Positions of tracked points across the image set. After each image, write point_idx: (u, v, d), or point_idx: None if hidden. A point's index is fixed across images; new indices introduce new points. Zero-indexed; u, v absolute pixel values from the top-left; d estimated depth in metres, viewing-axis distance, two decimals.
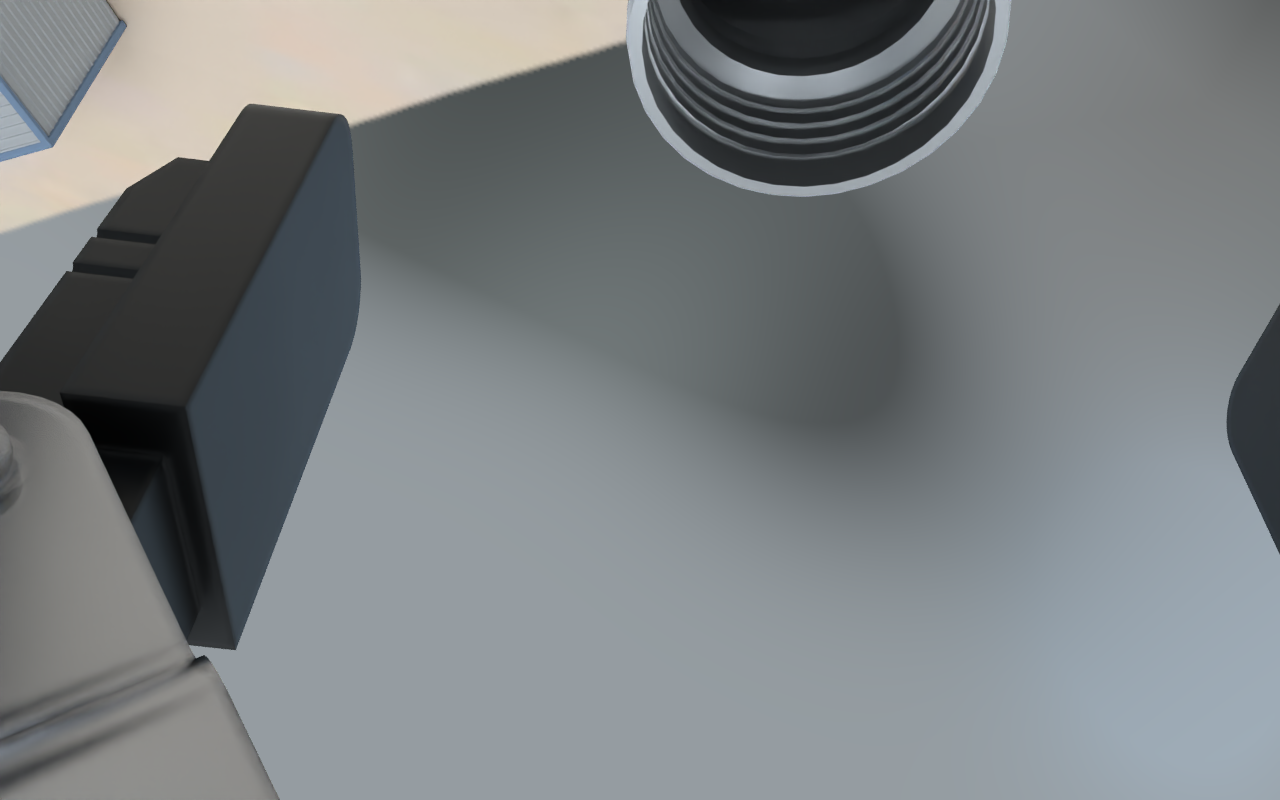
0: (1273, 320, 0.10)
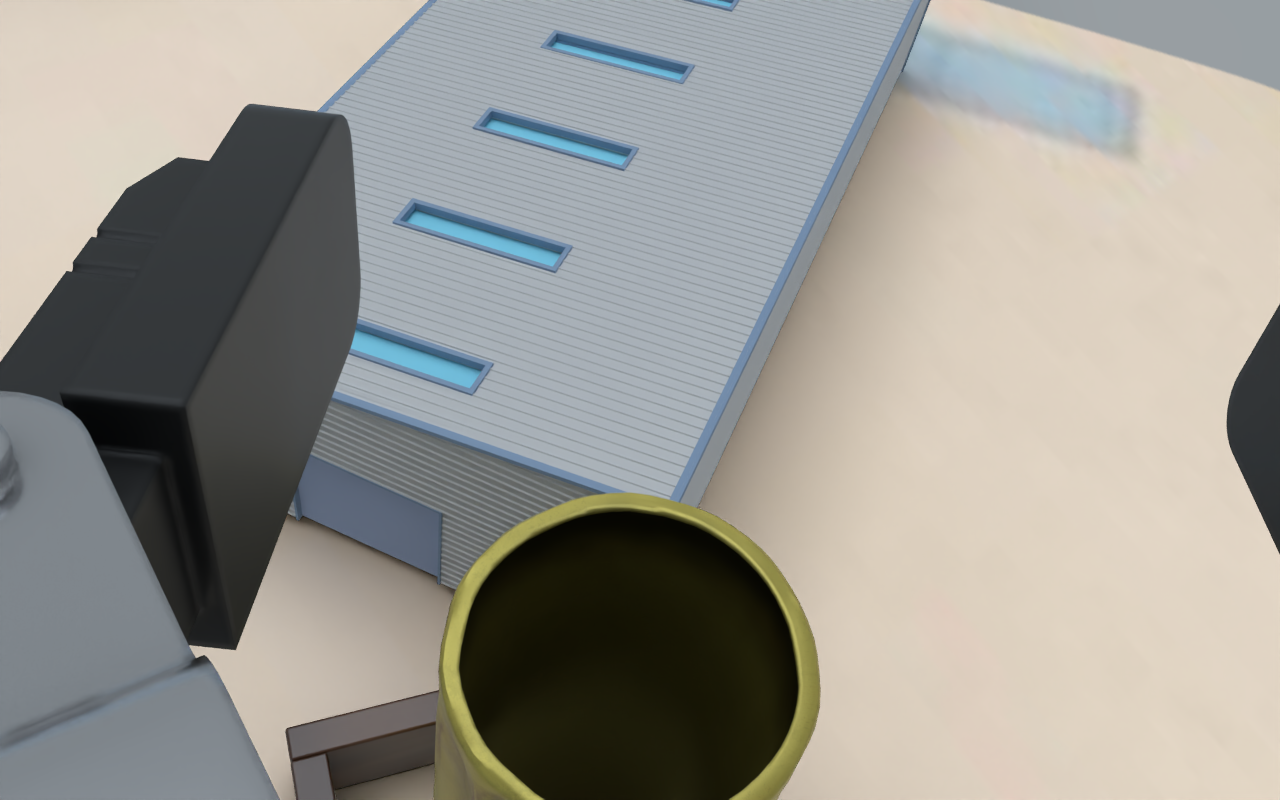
0: (1273, 320, 0.10)
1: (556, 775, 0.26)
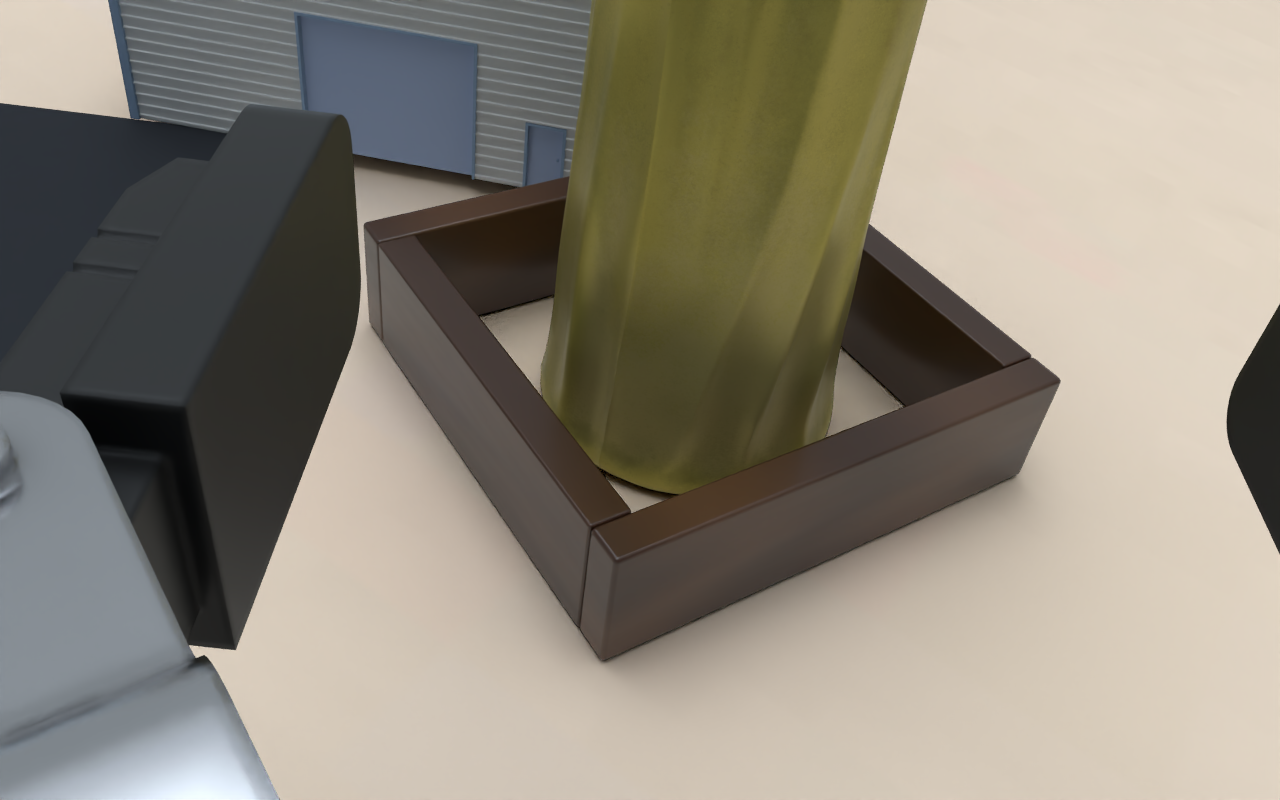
0: (1273, 320, 0.10)
1: None
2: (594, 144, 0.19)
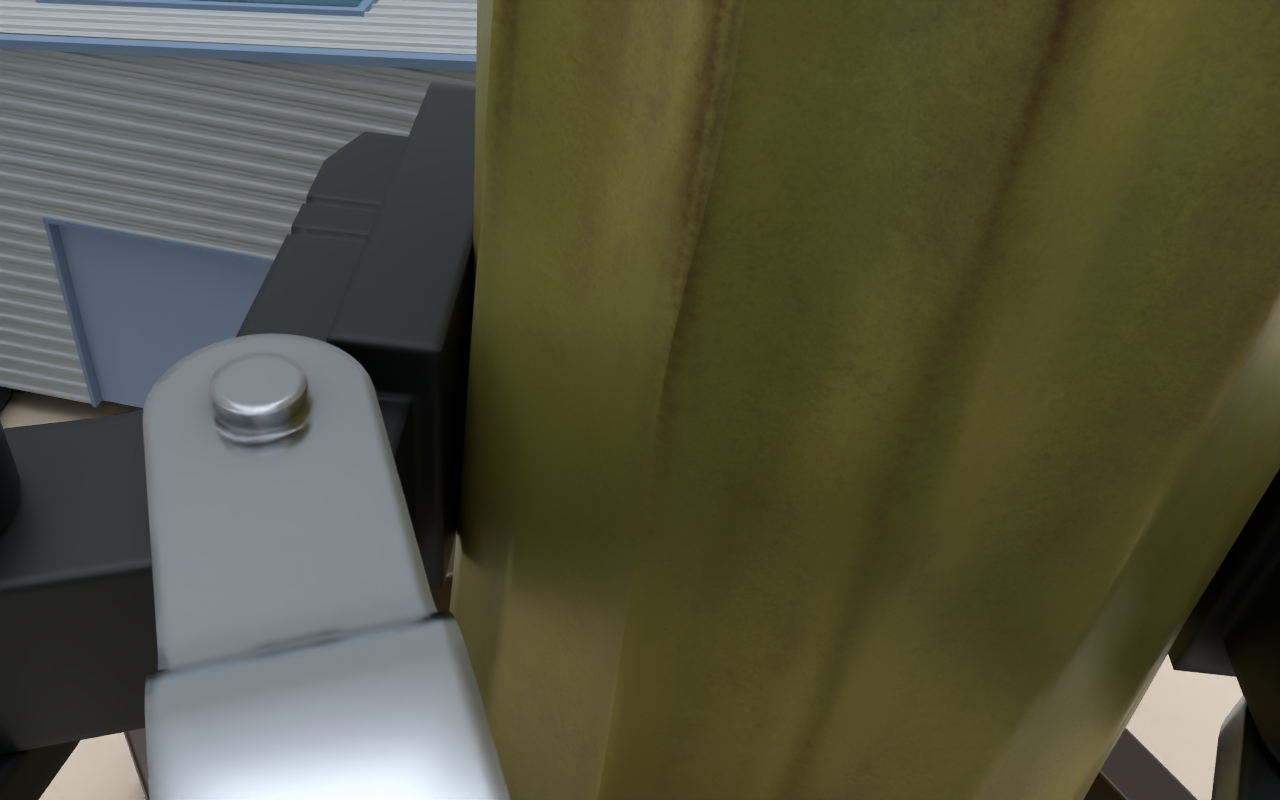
0: None
1: None
2: (481, 690, 0.09)
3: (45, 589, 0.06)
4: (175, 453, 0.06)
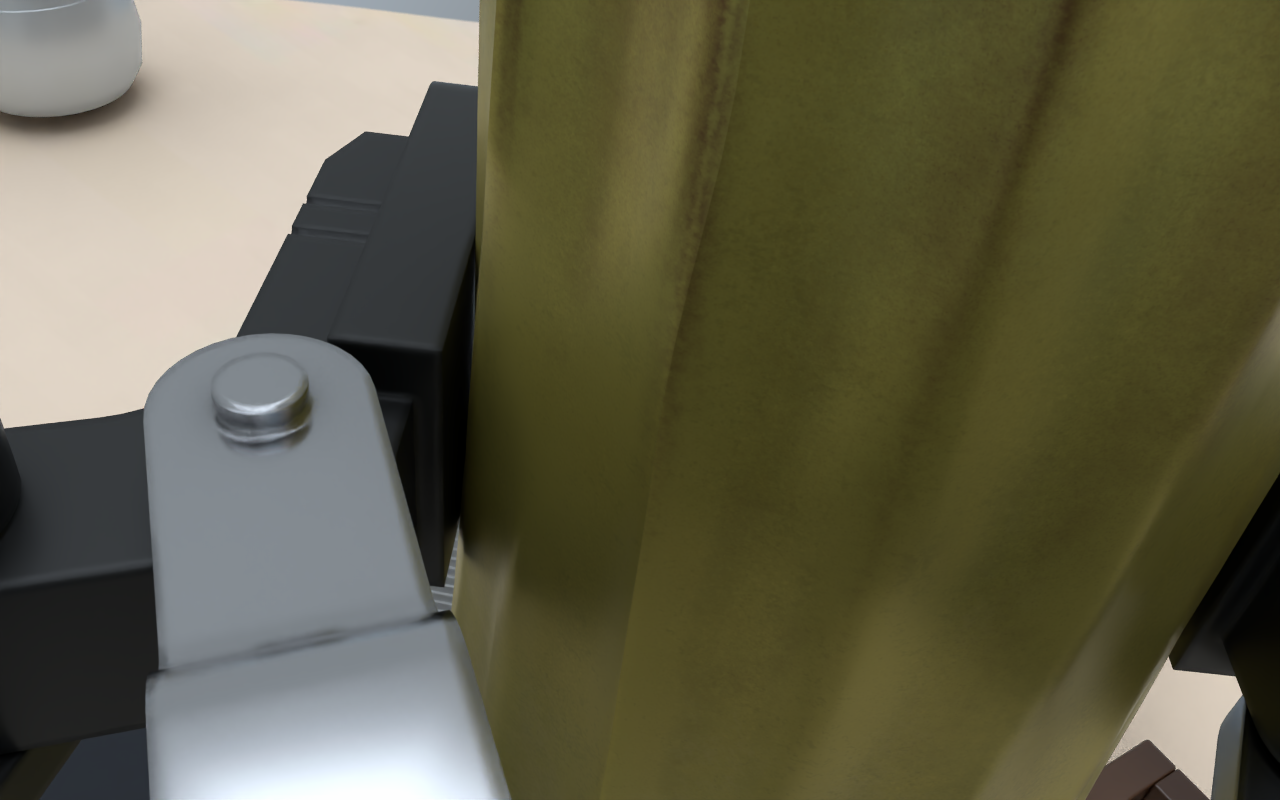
0: None
1: None
2: (481, 691, 0.09)
3: (45, 587, 0.06)
4: (176, 453, 0.06)
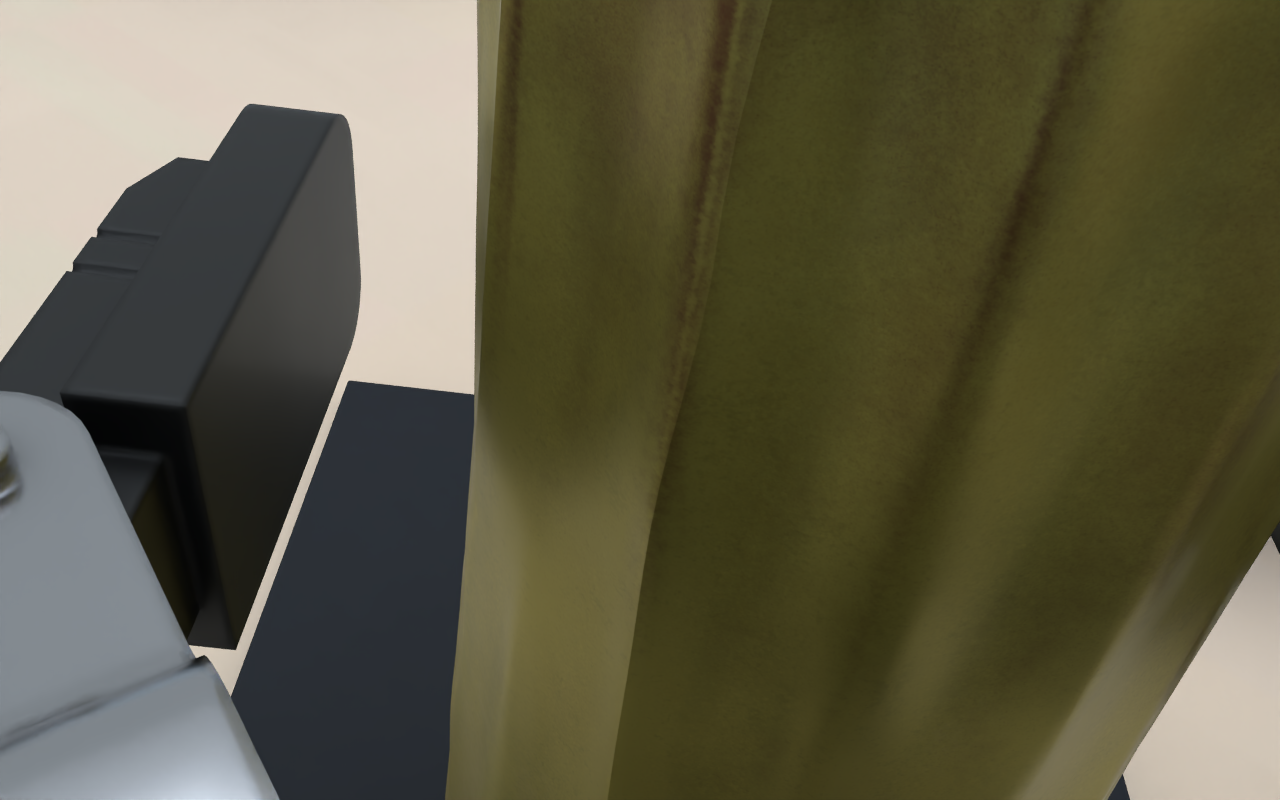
0: None
1: None
2: (482, 767, 0.09)
3: None
4: None
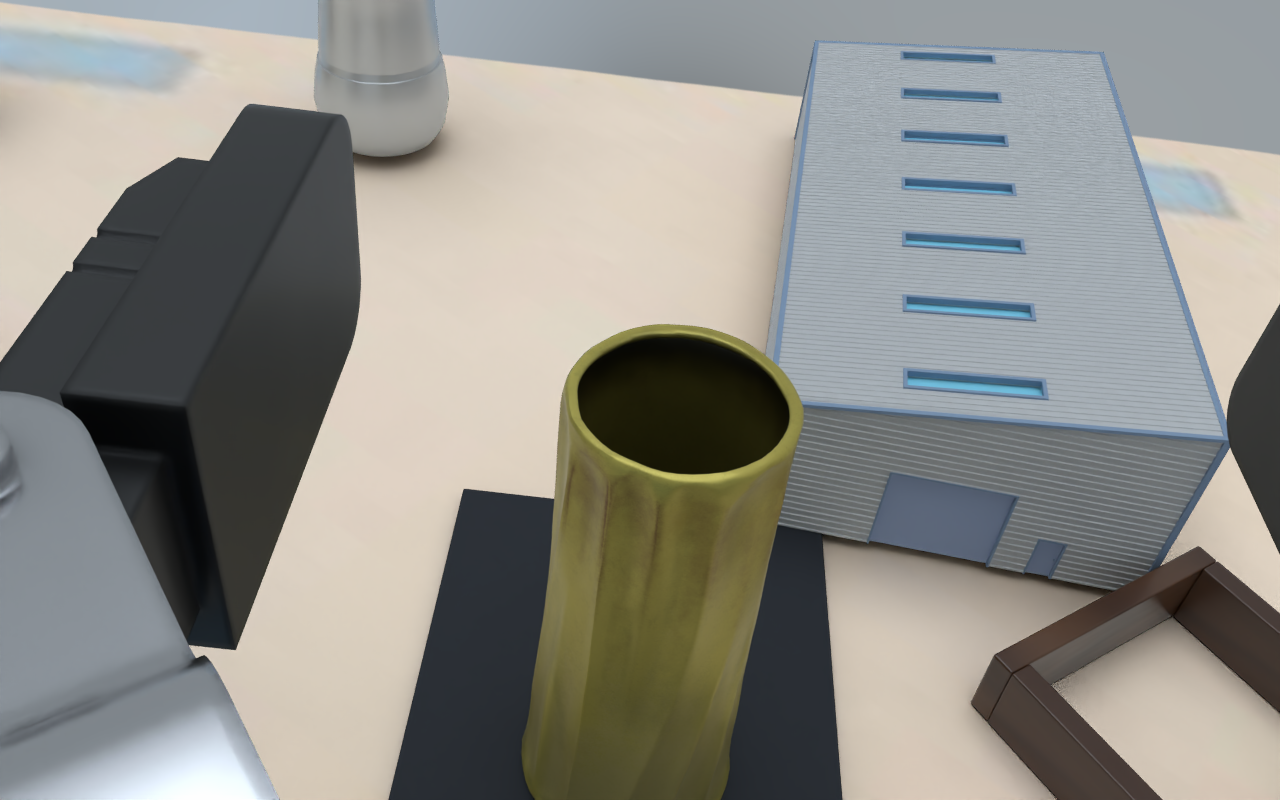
0: (1273, 320, 0.10)
1: None
2: (551, 653, 0.29)
3: None
4: None
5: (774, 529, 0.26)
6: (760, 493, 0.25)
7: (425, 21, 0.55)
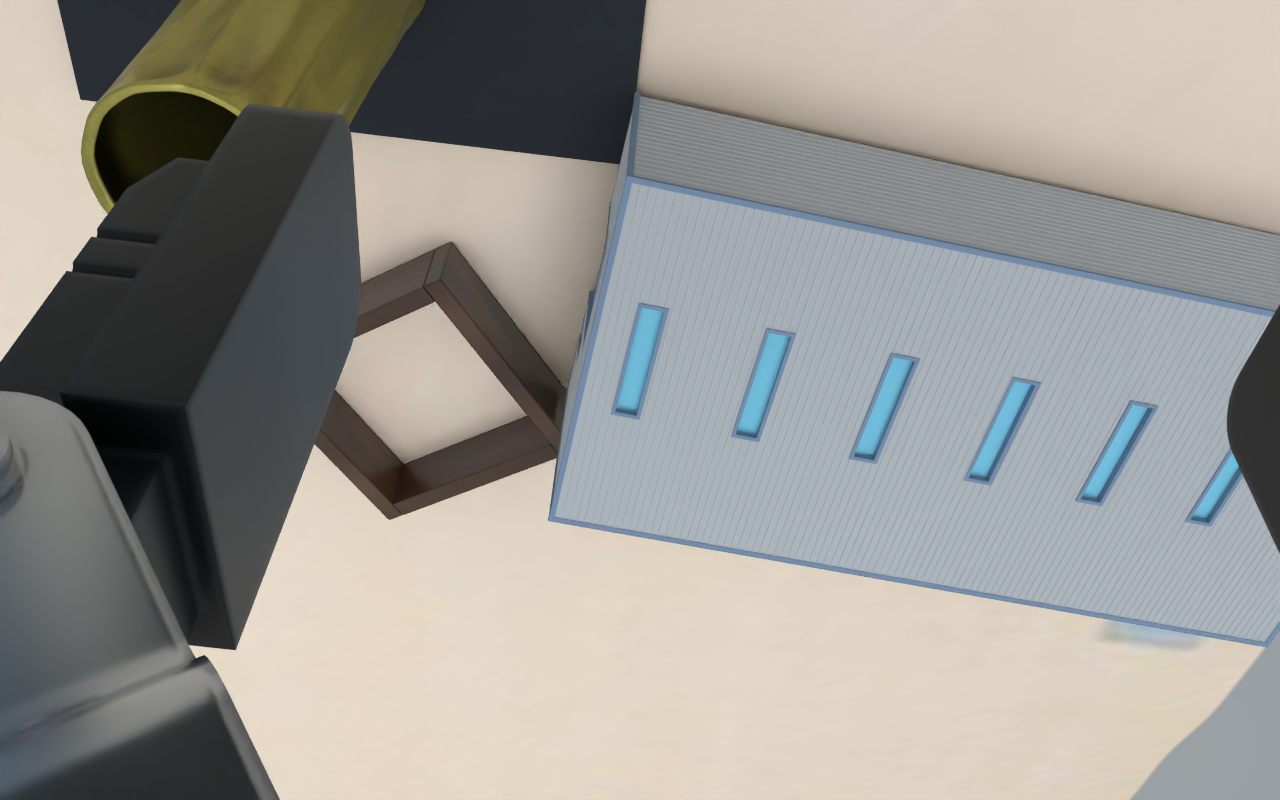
0: (1273, 321, 0.10)
1: None
2: None
3: None
4: None
5: None
6: None
7: None
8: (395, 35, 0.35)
